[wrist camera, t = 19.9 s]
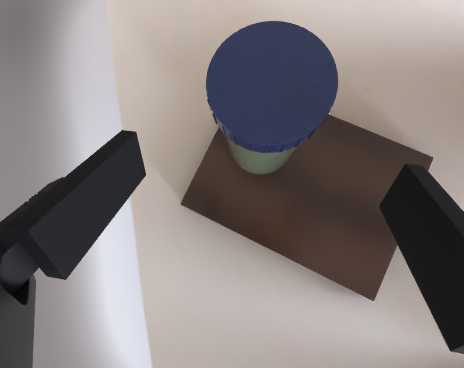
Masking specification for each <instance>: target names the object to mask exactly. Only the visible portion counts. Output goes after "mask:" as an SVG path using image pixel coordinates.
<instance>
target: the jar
mask: <svg viewBox="0 0 464 368" xmlns="http://www.w3.org/2000/svg"><path fill="white" fill-rule="evenodd" d="M225 137H226V140H227V143H228V147H229V150H230V153H231V155H232V157H233V159H234V161H235V162H236V163H237V164H238V165H239V166H240V167H241V168H242V169H244V170H246V171H248V172H250V173H254V174H267V173H271V172H274V171H276V170H277V169H279V168H280V167H282V166H283V165H284V164H285V163H286V162H287V160H288V159H289V157H290V156H291V155H292V153H293V152H294V151H295V149H296V148H297V147H298V146H297V147H293V148H291V149H288V150H285V151H283V152H282V153H280V152H275V153H266V154H265V153H260V152H255V151H251V152H250V151H249V150H248V149H245V148H243V147H241V146H239V145H235V143H234V142H233V141H231V140H230V139H229V138H228V137H227V136H225Z"/></svg>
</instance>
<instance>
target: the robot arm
mask: <svg viewBox="0 0 464 368" xmlns="http://www.w3.org/2000/svg"><path fill="white" fill-rule="evenodd" d="M145 176H146V172H145V168H144V163H143V159H142V155H141V150H140V146H139V142H138V137H137V133H136V132H134V131H125V130H122V131H121V132H119V133H118V134H117V135H116V136H114V137H113V138H112V139H111V140H110V141H108V142H107V143H106V144H105V145H103V146H102V147H101V148H100V149H99V150H97V151H96V152H95V153H94V154H93V155H91V156H90V157H89V158H88V159H87V160H85V161H84V162H83V163H82V164H80V165H79V166H78V167H77V168H75V169H74V170H73V171H72V172H71V173H69V174H68V175H67V176H66V177H64V178H63V177H62V178H60V179H58V180H56V181H54V182H52V183H50V184H48V185H47V186H46V187H44V188H43V189H42V190H40V191H39V192H38V194H36V195H34V196H33V197H31V198H30V199H29V201H28V202H25V203H24V204H23V205H21V206H20V207H19V208H18V209H16V210H15V211H14V212H13V213H11V214H10V215H9V216H7V217H6V218H5V219H4V220H2V221H1V222H0V368H32V364H33V363H32V362H33V339H34V317H35V316H34V315H35V293H36V280H35V276H34V275H33V274H34V273H35V271H36V270H37V269H38V268H40V269H41V270H42V271H43V272H44V274H45V275H46V276H48V277H53V278H59V279H64V280H66V279H67V278H68V276H69V275H70V274H71V272H72V271H73V270H74V269H75V267H76V266H77V265H78V263H79V262H80V261H81V259H82V258H83V257H84V255H85V254H86V253H87V252H88V250H89V249H90V248H91V246H92V245H93V244H94V242H95V241H96V240H97V238H98V237H99V236H100V235H101V233H102V232H103V231H104V229H105V228H106V227H107V225H108V224H109V223H110V221H111V220H112V219H113V218H114V216H115V215H116V214H117V212H118V211H119V210H120V208H121V207H122V206H123V204H124V203H125V202H126V200H127V199H128V198H129V197H130V195H131V194H132V193H133V191H134V190H135V189H136V187H137V186H138V185H139V184H140V182H141V181H142V180H143V178H144V177H145ZM379 208H380V210H381V212H382V214H383V216H384V218H385V220H386V222H387V224H388V226H389V228H390V230H391V232H392V234H393V236H394V238H395V240H396V242H397V244H398V246H399V248H400V250H401V252H402V254H403V256H404V259H405V261H406V263H407V265H408V267H409V269H410V271H411V273H412V275H413V277H414V279H415V281H416V283H417V285H418V287H419V289H420V291H421V293H422V295H423V297H424V299H425V301H426V303H427V305H428V307H429V309H430V311H431V313H432V315H433V317H434V319H435V321H436V323H437V325H438V327H439V329H440V331H441V333H442V336H443V338H444V340H445V342H446V344H447V346H448V348H449V350H450V351H452V352H457V353H462V354H464V211H463V210H462V209H461V208H460V207H459V206H458V205H457V204H456V202H455V201H454V200H453V199H452V198H451V197H450V196H449V195H448V193H447V192H446V191H445V190H444V189H443V188H442V187H441V186H440V184H439V183H438V182H437V181H436V180H435V179H434V178H433V176H432V175H431V174H430V173H429V172H428V171H427V170H426V169H425V167H424V166H423V165H415V164H406V163H405V164H404V166H403V168H402V169H401V171H400V172H399V174H398V176H397V177H396V179H395V181H394V182H393V184H392V185H391V187H390V189H389V190H388V192H387V194H386V195H385V197H384V198H383V200H382V202H381V203H380V205H379Z"/></svg>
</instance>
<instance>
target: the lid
mask: <svg viewBox="0 0 464 368" xmlns="http://www.w3.org/2000/svg"><path fill="white" fill-rule="evenodd" d="M337 88H338V74H337V69H336V64H335V62H334V59H333V57H332V55H331V53H330V51H329V50H328V48H327V47H326V45H325V44H324V43H323V42H322V41H321V40H320V39H319V38H318V37H317V36H316V35H314V34H313V33H312V32H310V31H308V30H307V29H305V28H303V27H300V26H298V25H295V24H292V23H287V22H281V21H267V22H260V23H256V24H252V25H249V26H247V27H245V28H242V29H240V30H239V31H237V32H235V33H234V34H232V35H231V36H230V37H229V38H227V39H226V40H225V41H224V42H223V43H222V44H221V46H220V47H219V48H218V49H217V51H216V53H215V54H214V56H213V58H212V60H211V62H210V65H209V68H208V72H207V78H206V90H207V97H208V99H207V100H208V103H209V106H210V108H211V111H212V112H213V114H212V115H213V117H214V120H215V123H216V124H218V126H219V127H220V129H221V130H222V131H223V134H224V136H227V137H228V138H229V139H230V140H231V141H233V142H234V143H235V145H239V146H241V147H243V148H245V149H248V150H249V151H250V152H251V151H255V152H260V153H265V154H266V153H275V152H280V153H282V152H283V151H285V150H288V149H291V148H293V147H297V146H298V145H299V144H301V143H302V142H303V141H305V140H306V139H307V138H308V139H309V138H310V137H311V136H312V135H313V133H314V132H315V131H316V129H317V127H320V125H321V124H322V123H323V122H324V121H325V119H326V118H327V115H328V113H329V111H330V110H331V108H332V106H333V103H334V101H335V98H336V94H337Z"/></svg>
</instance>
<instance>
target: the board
mask: <svg viewBox="0 0 464 368" xmlns="http://www.w3.org/2000/svg"><path fill="white" fill-rule="evenodd" d="M432 160H433V157H431V156H428V155H426V154H424V153H421V152H419V151H416V150H414V149H411V148H409V147H406V146H404V145H402V144H399V143H397V142H394V141H392V140H389V139H387V138H385V137H382V136H380V135H377V134H375V133H372V132H370V131H368V130H365V129H363V128H360V127H358V126H355V125H353V124H351V123H348V122H346V121H343V120H341V119H338V118H336V117H334V116H331V115H329V114H328V115H327V118H326V119H325V121H324V122H323V123H322V124H321V125H320V127H317V129H316V131H315V132H314V133H313V135H312V136H311V137H310V138H309V139H308V138H307V139H306V140H305V141H303V142H302V143H301V144H299V145H298V147H297V148H296V149H295V151H294V152H293V153H292V155H291V156H290V157H289V159H288V160H287V162H286V163H285V164H284V165H283V166H282V167H280V168H279V169H277V170H276V171H274V172H271V173H267V174H254V173H250V172H248V171H246V170H244V169H242V168H241V167H240V166H239V165H238V164H237V163H236V162H235V161H234V159H233V157H232V155H231V153H230V150H229V147H228V143H227V140H226V137H225V136H224V134H223V131H222V130H221V129H220V127H219V128H218V130H217V132H216V134H215V136H214V138H213V140H212V142H211V144H210V146H209V148H208V150H207V152H206V154H205V156H204V158H203V160H202V162H201V164H200V166H199V168H198V170H197V172H196V174H195V176H194V178H193V180H192V182H191V184H190V186H189V188H188V190H187V192H186V194H185V196H184V198H183V200H182V202H181V205H183V206H185V207H187V208H189V209H191V210H193V211H195V212H197V213H199V214H201V215H203V216H205V217H207V218H209V219H211V220H213V221H215V222H217V223H219V224H221V225H223V226H225V227H227V228H229V229H231V230H233V231H235V232H237V233H239V234H241V235H243V236H245V237H247V238H249V239H251V240H253V241H255V242H257V243H259V244H261V245H263V246H265V247H267V248H269V249H271V250H273V251H275V252H277V253H279V254H281V255H283V256H285V257H287V258H289V259H291V260H293V261H294V262H296V263H298V264H300V265H302V266H304V267H306V268H308V269H310V270H312V271H314V272H316V273H318V274H320V275H322V276H324V277H326V278H328V279H330V280H332V281H334V282H336V283H338V284H340V285H342V286H344V287H346V288H348V289H350V290H352V291H354V292H356V293H358V294H360V295H362V296H364V297H366V298H368V299H370V300H372V301H374V300H375V297H376V295H377V292H378V290H379V287H380V285H381V283H382V280H383V278H384V275H385V273H386V271H387V268H388V266H389V263H390V261H391V259H392V256H393V254H394V251H395V249H396V247H397V242H396V240H395V238H394V236H393V234H392V232H391V230H390V228H389V226H388V224H387V222H386V220H385V218H384V216H383V214H382V212H381V210H380V208H379V205H380V203H381V202H382V200H383V198H384V197H385V195H386V194H387V192H388V190H389V189H390V187H391V185H392V184H393V182H394V181H395V179H396V177H397V176H398V174H399V172H400V171H401V169H402V168H403V166H404V164H405V163H406V164H415V165H423V166H424V167H425V169H426V170H427V171H428V170H429V167H430V165H431V162H432Z"/></svg>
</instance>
